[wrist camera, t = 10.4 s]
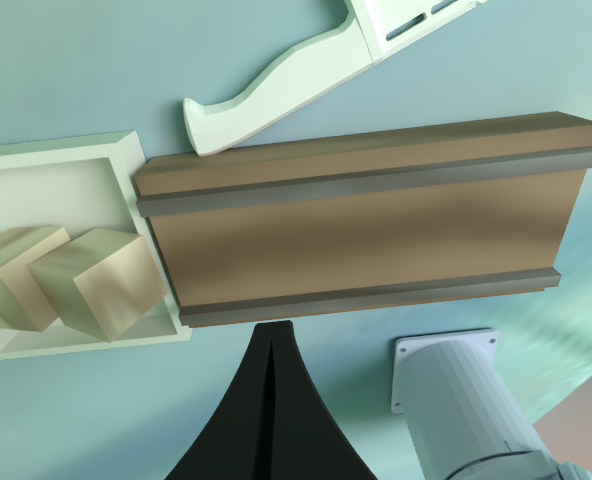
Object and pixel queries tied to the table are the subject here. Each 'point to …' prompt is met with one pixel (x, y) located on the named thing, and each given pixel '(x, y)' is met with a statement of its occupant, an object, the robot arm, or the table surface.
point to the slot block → (367, 217)
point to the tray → (82, 226)
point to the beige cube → (100, 282)
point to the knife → (314, 69)
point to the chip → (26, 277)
